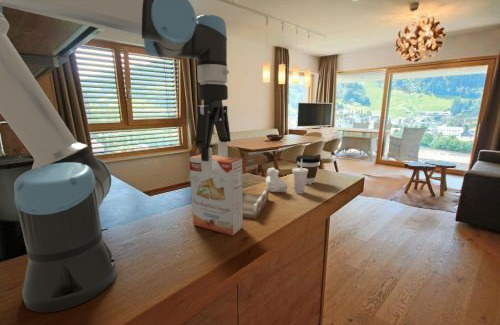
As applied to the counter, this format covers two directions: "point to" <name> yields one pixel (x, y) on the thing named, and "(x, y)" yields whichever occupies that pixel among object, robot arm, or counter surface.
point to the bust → (275, 181)
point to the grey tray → (254, 204)
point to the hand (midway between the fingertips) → (215, 168)
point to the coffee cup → (309, 166)
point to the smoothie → (299, 179)
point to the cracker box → (217, 194)
